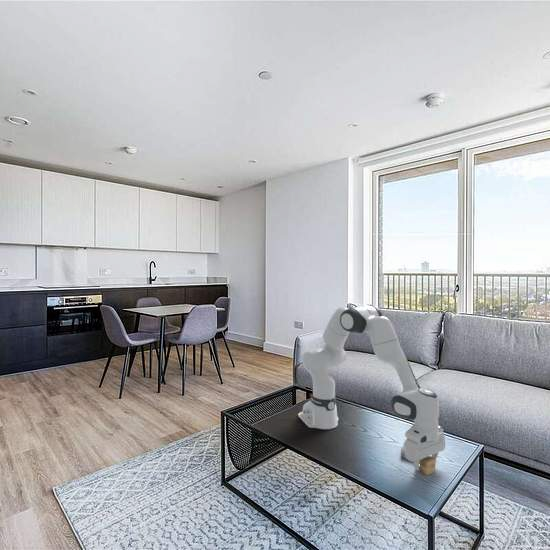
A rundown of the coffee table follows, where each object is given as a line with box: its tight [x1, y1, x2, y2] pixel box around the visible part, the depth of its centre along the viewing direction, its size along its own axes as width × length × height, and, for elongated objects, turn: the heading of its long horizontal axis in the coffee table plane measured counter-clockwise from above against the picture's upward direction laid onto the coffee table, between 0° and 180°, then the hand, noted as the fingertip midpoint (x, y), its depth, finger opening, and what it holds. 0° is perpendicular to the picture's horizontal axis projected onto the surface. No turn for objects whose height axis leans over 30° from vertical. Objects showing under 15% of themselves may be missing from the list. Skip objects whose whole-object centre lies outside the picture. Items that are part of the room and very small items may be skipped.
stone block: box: [400, 439, 408, 460], centre depth 149 cm, size 12×5×10 cm
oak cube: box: [418, 455, 436, 476], centre depth 137 cm, size 5×5×5 cm
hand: (425, 465), depth 137 cm, fingers open, 8 cm apart
